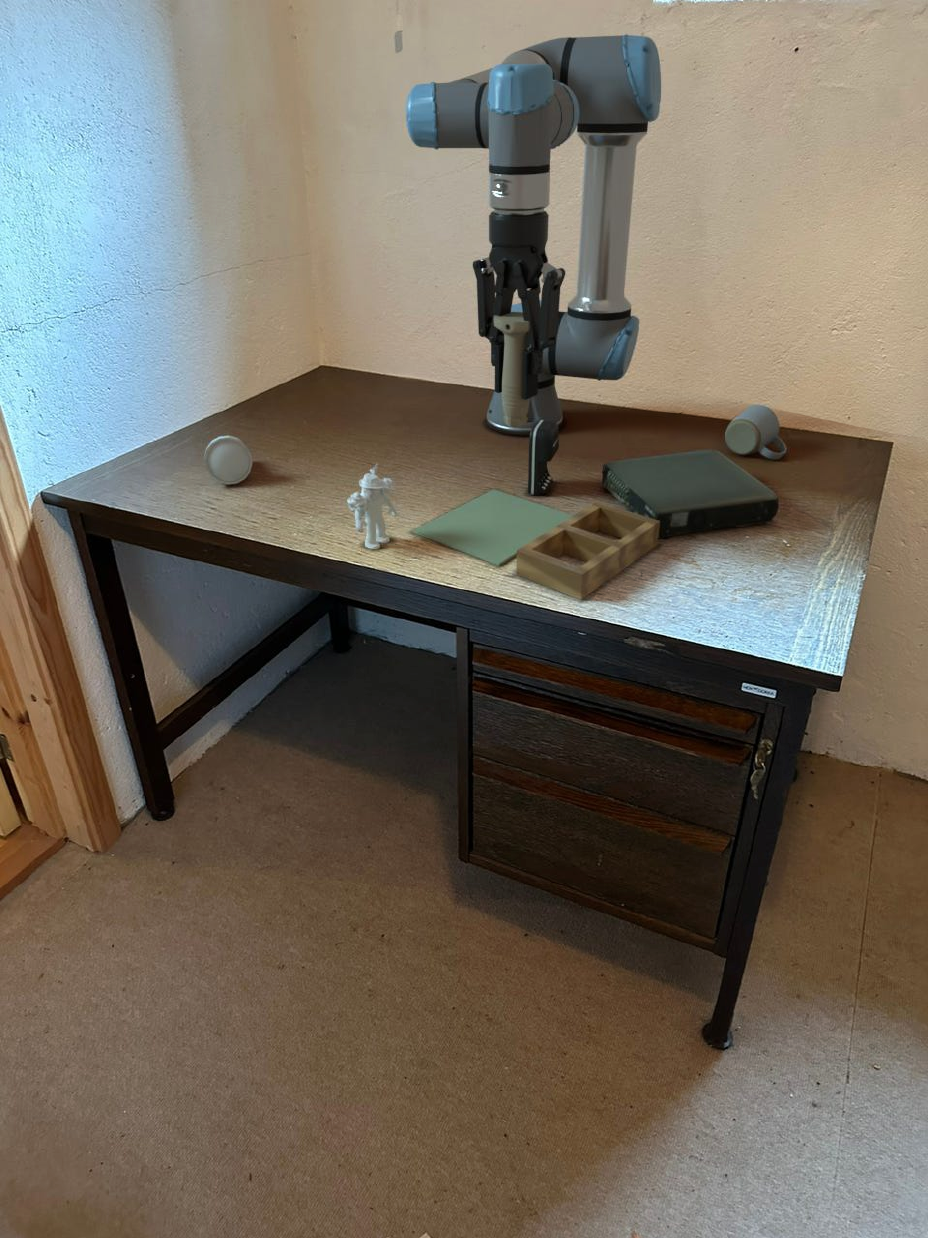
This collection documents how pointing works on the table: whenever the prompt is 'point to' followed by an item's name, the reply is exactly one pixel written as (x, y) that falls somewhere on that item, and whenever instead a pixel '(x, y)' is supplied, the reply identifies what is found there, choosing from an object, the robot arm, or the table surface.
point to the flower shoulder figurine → (372, 507)
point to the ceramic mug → (755, 433)
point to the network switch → (690, 491)
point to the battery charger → (541, 455)
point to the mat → (493, 526)
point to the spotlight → (228, 460)
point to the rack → (587, 549)
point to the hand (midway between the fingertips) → (515, 392)
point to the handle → (513, 367)
